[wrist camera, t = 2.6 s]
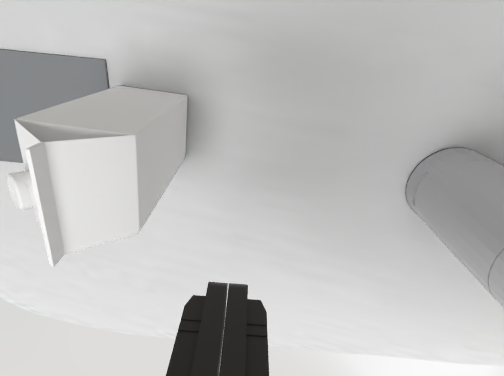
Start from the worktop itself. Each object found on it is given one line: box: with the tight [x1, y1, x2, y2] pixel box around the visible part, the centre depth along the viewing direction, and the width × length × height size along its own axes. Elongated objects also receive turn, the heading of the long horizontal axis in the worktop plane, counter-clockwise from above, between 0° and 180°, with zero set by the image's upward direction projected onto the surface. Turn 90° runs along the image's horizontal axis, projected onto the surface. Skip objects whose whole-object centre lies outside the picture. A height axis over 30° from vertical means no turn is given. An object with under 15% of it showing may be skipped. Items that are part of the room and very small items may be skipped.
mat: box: [0, 49, 109, 163], centre depth 32 cm, size 18×12×1 cm, turn 85°
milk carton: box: [7, 86, 188, 266], centre depth 24 cm, size 7×7×19 cm
